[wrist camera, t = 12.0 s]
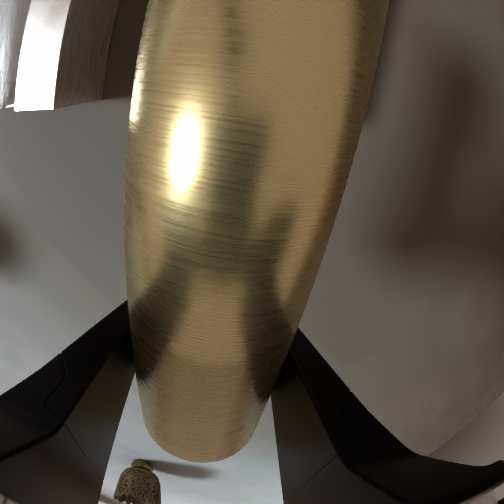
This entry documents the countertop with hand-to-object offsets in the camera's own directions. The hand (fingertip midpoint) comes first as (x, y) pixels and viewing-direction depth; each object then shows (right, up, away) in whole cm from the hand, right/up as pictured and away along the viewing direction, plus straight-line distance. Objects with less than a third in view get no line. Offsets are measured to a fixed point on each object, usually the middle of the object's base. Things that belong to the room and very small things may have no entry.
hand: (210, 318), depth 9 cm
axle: (+1, +4, -2) cm, 5 cm away
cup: (-16, -32, +30) cm, 47 cm away
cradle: (-11, +16, +3) cm, 19 cm away
